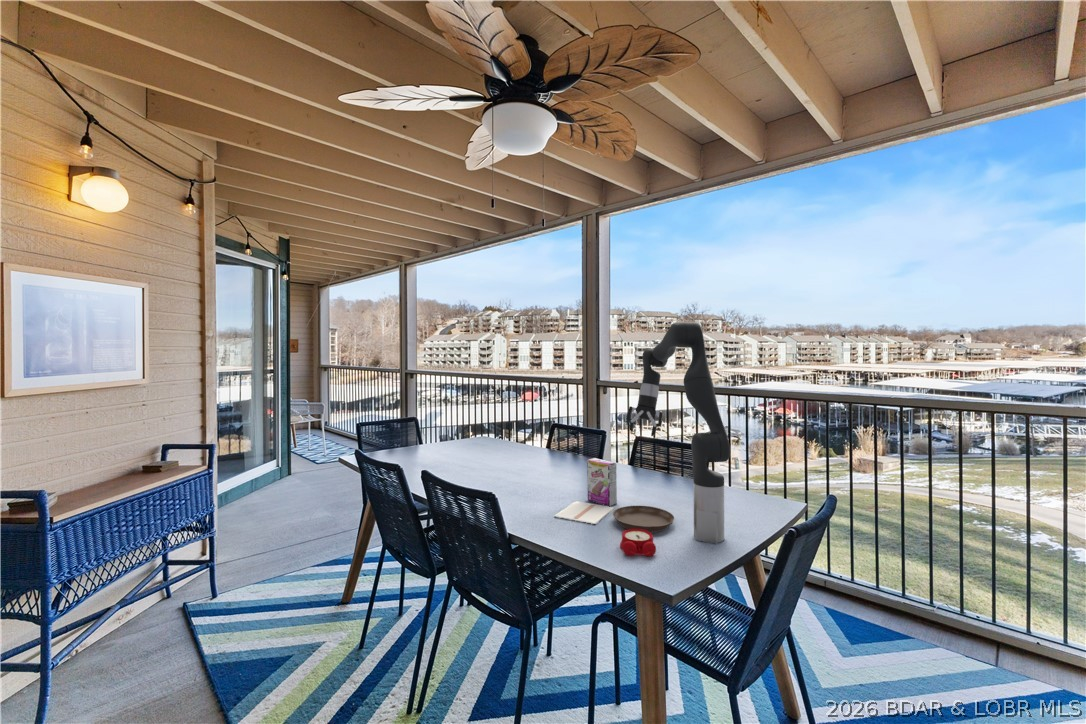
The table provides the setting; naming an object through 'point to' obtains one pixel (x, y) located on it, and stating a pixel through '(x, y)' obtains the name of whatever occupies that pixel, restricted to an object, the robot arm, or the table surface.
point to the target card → (585, 512)
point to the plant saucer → (643, 518)
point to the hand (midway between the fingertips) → (641, 434)
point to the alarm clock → (637, 542)
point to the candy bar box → (602, 481)
